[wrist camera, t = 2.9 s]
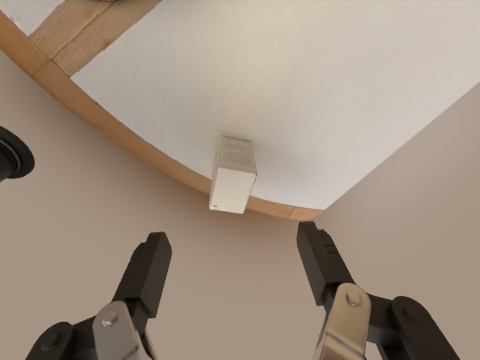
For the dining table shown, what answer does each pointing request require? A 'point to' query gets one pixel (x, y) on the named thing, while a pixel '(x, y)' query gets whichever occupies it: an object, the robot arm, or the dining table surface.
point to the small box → (232, 176)
